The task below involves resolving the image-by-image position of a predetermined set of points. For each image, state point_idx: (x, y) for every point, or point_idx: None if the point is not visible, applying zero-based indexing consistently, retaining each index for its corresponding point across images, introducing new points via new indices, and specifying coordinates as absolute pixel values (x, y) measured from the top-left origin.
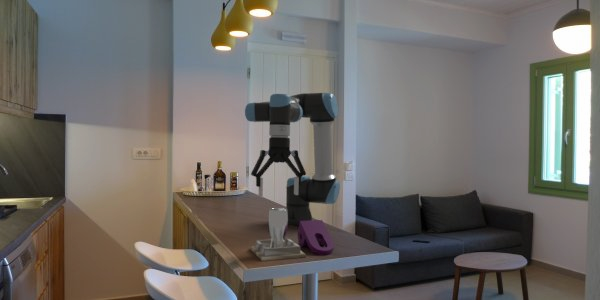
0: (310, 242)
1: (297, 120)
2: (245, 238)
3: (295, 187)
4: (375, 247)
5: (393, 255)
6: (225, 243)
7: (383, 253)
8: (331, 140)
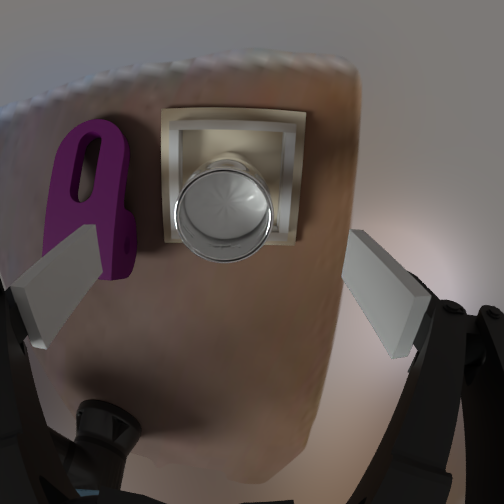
0: (121, 156)
1: None
2: (267, 345)
3: (76, 267)
4: None
5: None
6: (334, 313)
7: None
8: None
